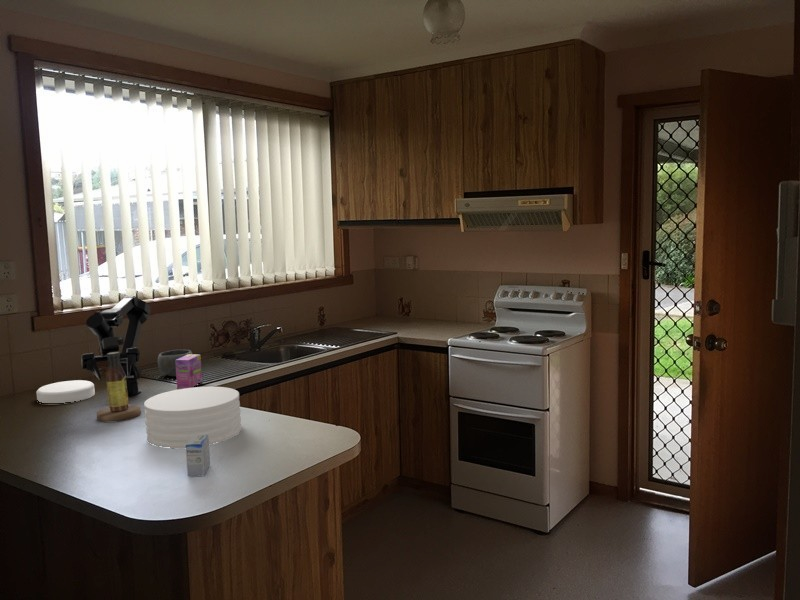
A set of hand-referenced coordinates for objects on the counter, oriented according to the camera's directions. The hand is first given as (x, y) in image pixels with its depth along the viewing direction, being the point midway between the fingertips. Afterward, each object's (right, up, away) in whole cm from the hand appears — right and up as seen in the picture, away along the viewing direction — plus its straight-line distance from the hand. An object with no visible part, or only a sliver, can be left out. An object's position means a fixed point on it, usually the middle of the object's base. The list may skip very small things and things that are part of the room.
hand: (114, 377), depth 241 cm
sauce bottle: (+2, -11, -2) cm, 11 cm away
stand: (+2, -13, -2) cm, 13 cm away
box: (+15, -8, +37) cm, 41 cm away
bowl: (+3, -5, +57) cm, 57 cm away
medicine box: (+46, -18, -57) cm, 76 cm away
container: (-29, -11, +26) cm, 41 cm away
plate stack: (+35, -15, -25) cm, 45 cm away
